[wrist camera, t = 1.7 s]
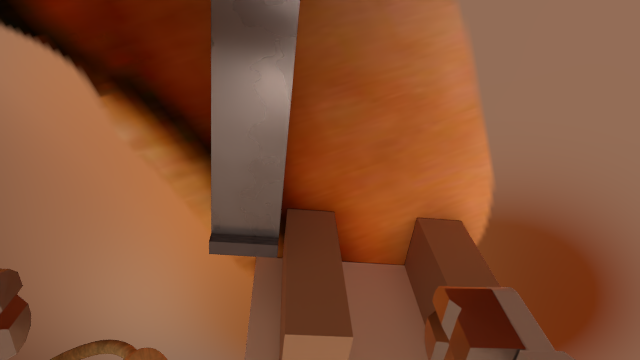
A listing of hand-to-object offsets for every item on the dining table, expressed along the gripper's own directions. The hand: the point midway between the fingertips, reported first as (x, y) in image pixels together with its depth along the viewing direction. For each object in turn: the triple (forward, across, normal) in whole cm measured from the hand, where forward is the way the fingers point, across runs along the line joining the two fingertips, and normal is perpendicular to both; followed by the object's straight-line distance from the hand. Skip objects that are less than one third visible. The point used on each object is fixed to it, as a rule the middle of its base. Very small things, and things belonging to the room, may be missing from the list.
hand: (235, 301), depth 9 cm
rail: (+17, +1, -1) cm, 17 cm away
